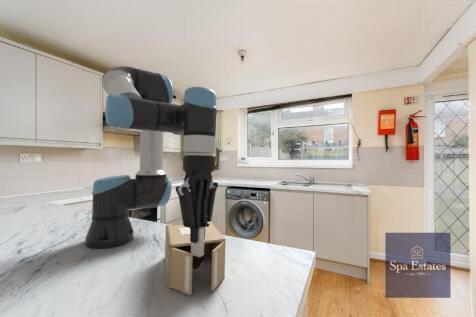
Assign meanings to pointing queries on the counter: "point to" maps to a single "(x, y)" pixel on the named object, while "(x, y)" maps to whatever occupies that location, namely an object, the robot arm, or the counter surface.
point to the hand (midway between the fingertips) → (197, 254)
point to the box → (195, 260)
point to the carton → (181, 237)
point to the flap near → (181, 271)
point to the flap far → (217, 265)
